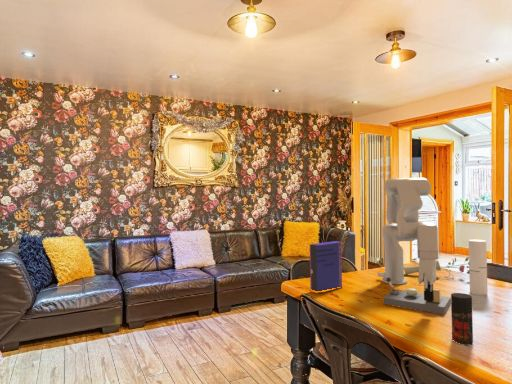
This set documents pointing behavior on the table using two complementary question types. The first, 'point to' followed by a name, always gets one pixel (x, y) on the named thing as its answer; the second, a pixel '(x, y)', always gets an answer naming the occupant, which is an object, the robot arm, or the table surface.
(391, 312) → the table surface
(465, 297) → the deodorant
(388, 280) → the toggle lever
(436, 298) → the paddle switch
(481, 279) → the cylindrical container
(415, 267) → the flower vase
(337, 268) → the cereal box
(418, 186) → the robot arm
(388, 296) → the control panel
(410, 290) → the push button
